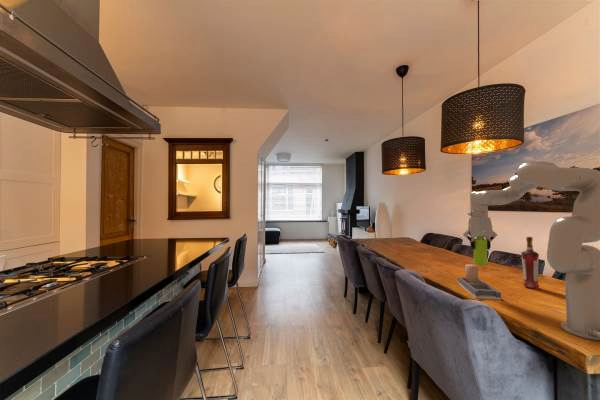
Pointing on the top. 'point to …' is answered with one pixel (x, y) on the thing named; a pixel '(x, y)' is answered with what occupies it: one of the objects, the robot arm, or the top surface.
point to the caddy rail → (477, 284)
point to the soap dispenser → (480, 251)
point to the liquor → (530, 265)
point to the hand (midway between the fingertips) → (480, 248)
